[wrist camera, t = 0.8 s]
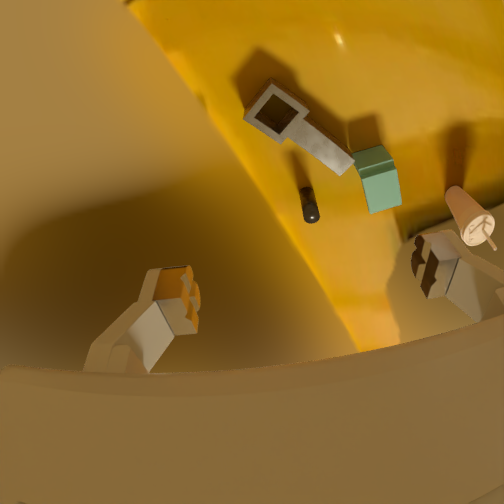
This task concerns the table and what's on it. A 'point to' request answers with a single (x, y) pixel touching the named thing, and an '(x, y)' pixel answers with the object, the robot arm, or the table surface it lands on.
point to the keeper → (378, 178)
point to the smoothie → (470, 217)
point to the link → (298, 127)
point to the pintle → (309, 205)
